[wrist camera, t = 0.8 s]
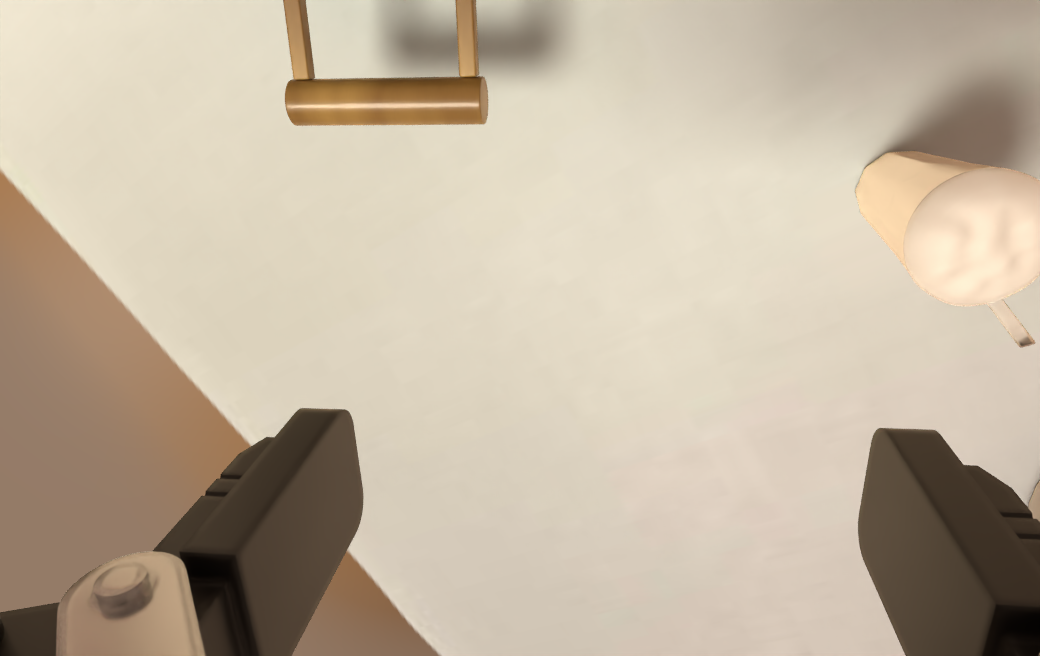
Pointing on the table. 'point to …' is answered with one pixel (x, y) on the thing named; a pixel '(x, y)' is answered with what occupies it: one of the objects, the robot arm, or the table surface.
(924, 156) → the milkshake
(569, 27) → the table surface
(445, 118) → the drawer
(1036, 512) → the flag stand
